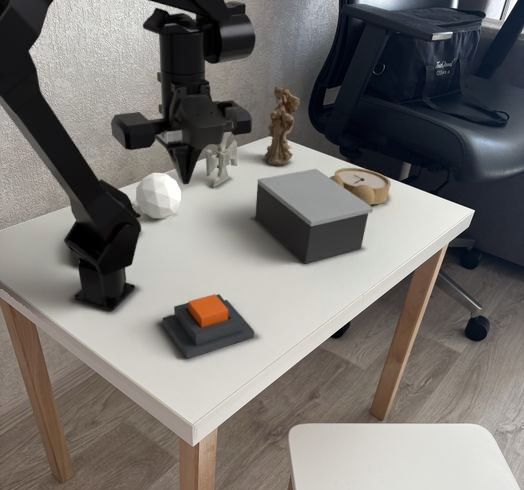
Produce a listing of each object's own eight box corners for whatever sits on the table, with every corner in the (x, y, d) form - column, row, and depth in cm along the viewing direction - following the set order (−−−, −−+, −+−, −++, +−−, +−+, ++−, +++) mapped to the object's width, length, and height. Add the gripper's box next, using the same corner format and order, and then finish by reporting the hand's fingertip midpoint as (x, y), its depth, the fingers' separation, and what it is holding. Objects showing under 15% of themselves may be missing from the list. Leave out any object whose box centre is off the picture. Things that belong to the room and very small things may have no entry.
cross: (212, 193, 111) (213, 141, 104) (201, 189, 112) (201, 138, 105) (240, 175, 118) (243, 126, 111) (229, 172, 119) (231, 123, 112)
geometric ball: (170, 231, 104) (183, 210, 97) (127, 217, 101) (137, 194, 94) (176, 196, 106) (190, 173, 99) (134, 181, 103) (145, 157, 96)
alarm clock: (400, 179, 114) (370, 191, 103) (393, 203, 117) (362, 217, 106) (351, 163, 119) (316, 173, 108) (345, 186, 122) (311, 198, 110)
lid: (315, 172, 105) (316, 168, 104) (372, 212, 94) (373, 207, 94) (257, 183, 100) (257, 179, 99) (310, 226, 89) (311, 222, 89)
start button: (201, 328, 75) (201, 317, 74) (188, 311, 77) (188, 301, 76) (228, 320, 77) (228, 309, 75) (214, 304, 79) (214, 293, 78)
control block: (187, 359, 74) (186, 341, 72) (162, 324, 79) (161, 307, 77) (253, 337, 78) (255, 320, 76) (226, 306, 83) (227, 289, 81)
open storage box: (307, 207, 109) (311, 173, 104) (361, 249, 98) (368, 213, 94) (254, 219, 104) (257, 183, 100) (305, 264, 94) (310, 226, 89)
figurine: (255, 158, 125) (259, 85, 115) (273, 152, 128) (280, 81, 119) (279, 169, 121) (286, 95, 111) (298, 163, 125) (306, 90, 115)
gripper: (136, 95, 64) (145, 220, 75) (277, 80, 72) (267, 195, 82) (103, 67, 71) (115, 185, 82) (234, 57, 79) (231, 165, 89)
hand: (184, 183), depth 84 cm, fingers closed
